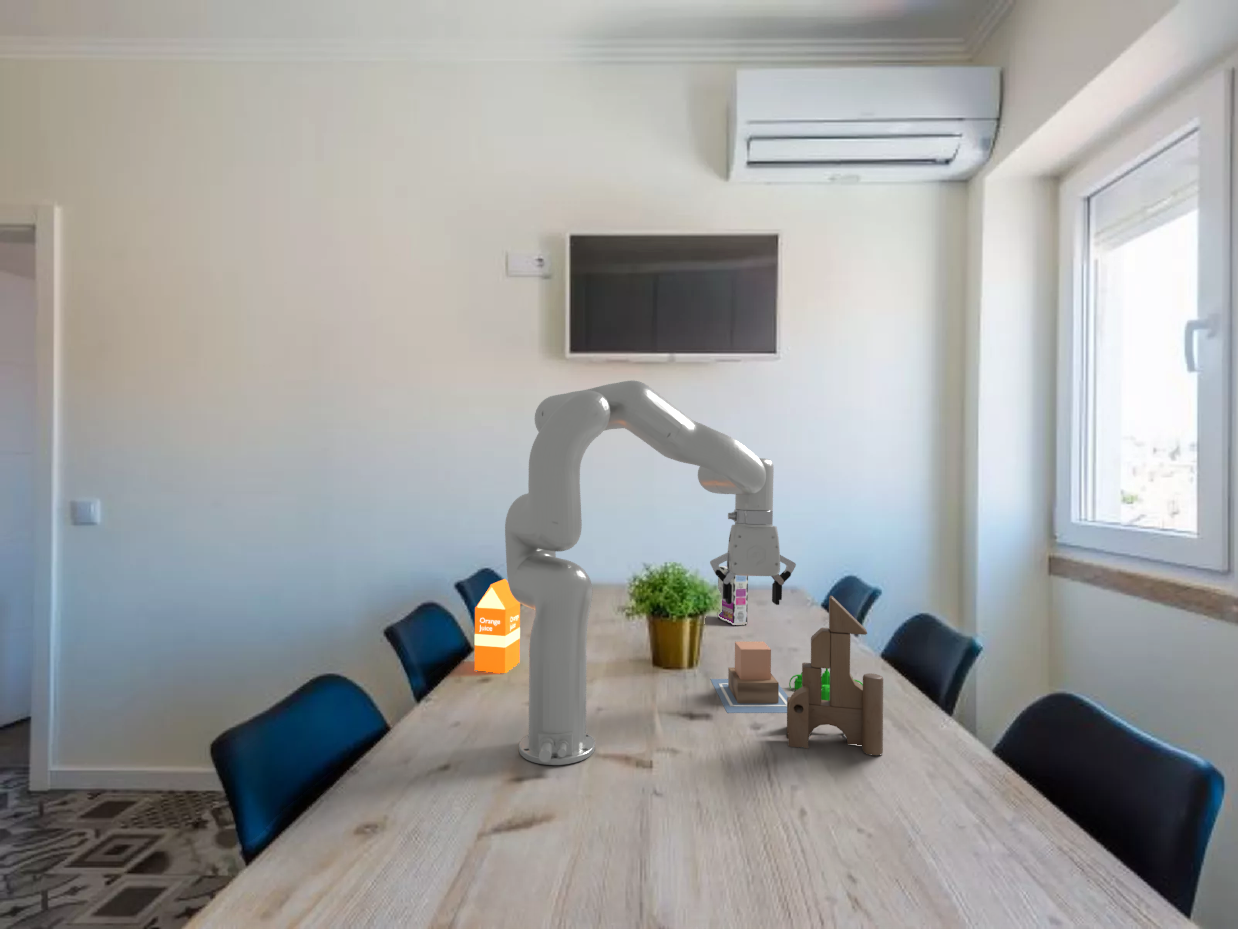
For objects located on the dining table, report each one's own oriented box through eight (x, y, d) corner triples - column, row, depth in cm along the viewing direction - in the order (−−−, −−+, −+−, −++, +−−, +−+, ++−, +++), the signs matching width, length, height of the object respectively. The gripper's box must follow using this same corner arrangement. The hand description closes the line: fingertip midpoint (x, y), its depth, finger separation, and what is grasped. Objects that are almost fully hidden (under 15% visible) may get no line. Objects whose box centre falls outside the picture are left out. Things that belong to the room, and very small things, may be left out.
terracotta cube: (770, 679, 134) (770, 649, 134) (740, 679, 134) (741, 649, 134) (763, 670, 140) (763, 641, 140) (734, 670, 140) (734, 641, 140)
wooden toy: (786, 747, 114) (787, 599, 114) (787, 732, 121) (788, 592, 121) (884, 758, 110) (885, 605, 110) (879, 741, 117) (880, 597, 117)
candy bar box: (748, 625, 201) (749, 570, 201) (733, 626, 199) (733, 571, 199) (731, 617, 212) (731, 564, 212) (716, 618, 210) (717, 565, 210)
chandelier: (867, 714, 130) (867, 678, 130) (787, 706, 135) (787, 671, 135) (863, 689, 144) (863, 657, 144) (791, 683, 149) (791, 651, 149)
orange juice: (473, 671, 155) (474, 583, 155) (490, 660, 163) (490, 577, 163) (505, 674, 153) (506, 585, 153) (520, 663, 161) (521, 579, 161)
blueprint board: (801, 717, 127) (801, 712, 127) (727, 718, 127) (727, 712, 127) (774, 683, 147) (774, 678, 147) (710, 683, 147) (710, 678, 147)
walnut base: (778, 703, 132) (778, 682, 132) (737, 703, 132) (738, 682, 132) (766, 686, 142) (766, 667, 142) (728, 686, 142) (728, 667, 142)
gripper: (714, 519, 133) (712, 606, 133) (801, 521, 134) (799, 607, 134) (708, 516, 141) (706, 599, 141) (790, 518, 141) (789, 600, 141)
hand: (752, 603), depth 137 cm, fingers open, 9 cm apart
